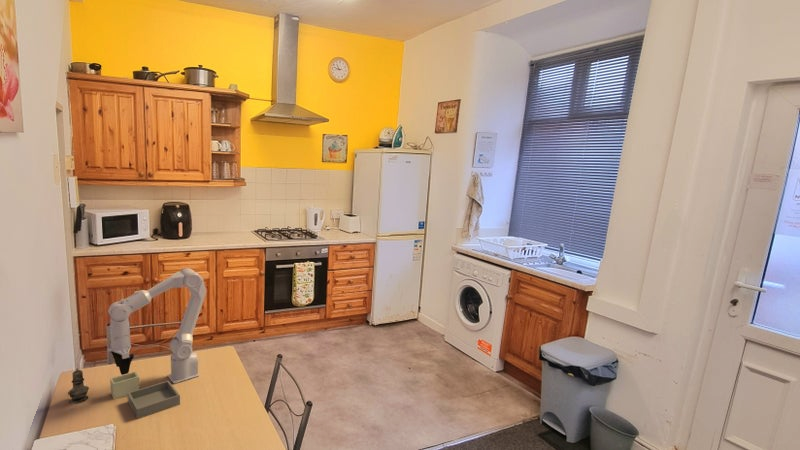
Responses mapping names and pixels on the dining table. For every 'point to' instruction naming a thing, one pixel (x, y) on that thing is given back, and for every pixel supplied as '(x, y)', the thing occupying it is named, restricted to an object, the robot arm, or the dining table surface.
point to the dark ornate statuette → (78, 388)
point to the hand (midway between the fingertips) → (122, 369)
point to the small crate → (124, 384)
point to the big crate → (153, 399)
